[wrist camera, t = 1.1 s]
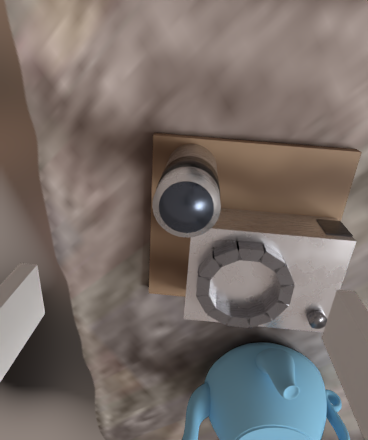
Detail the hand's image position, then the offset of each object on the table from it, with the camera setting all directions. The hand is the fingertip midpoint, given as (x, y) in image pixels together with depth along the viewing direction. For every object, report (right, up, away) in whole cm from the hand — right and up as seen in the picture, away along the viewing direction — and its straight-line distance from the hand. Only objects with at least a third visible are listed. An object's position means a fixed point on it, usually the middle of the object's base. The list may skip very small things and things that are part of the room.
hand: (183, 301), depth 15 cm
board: (+6, +3, +22) cm, 23 cm away
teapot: (+10, -18, +32) cm, 38 cm away
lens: (+1, +9, +18) cm, 20 cm away
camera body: (+8, -1, +22) cm, 24 cm away
